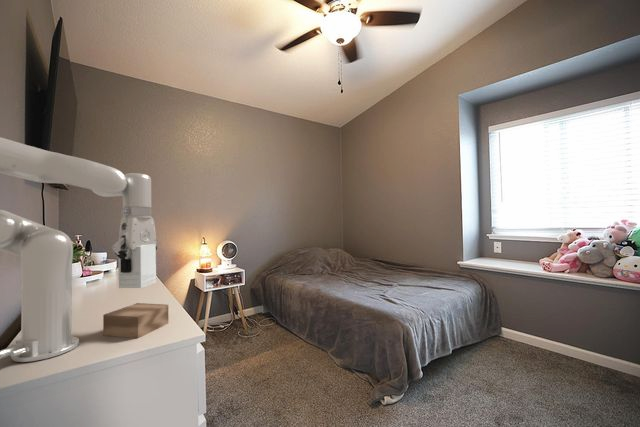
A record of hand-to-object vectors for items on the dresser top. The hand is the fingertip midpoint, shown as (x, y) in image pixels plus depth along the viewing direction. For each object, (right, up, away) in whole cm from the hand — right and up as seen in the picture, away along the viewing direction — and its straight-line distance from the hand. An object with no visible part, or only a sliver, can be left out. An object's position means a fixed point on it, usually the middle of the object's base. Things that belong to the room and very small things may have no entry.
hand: (137, 269), depth 89 cm
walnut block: (0, -18, 0) cm, 18 cm away
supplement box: (0, -5, 0) cm, 5 cm away
